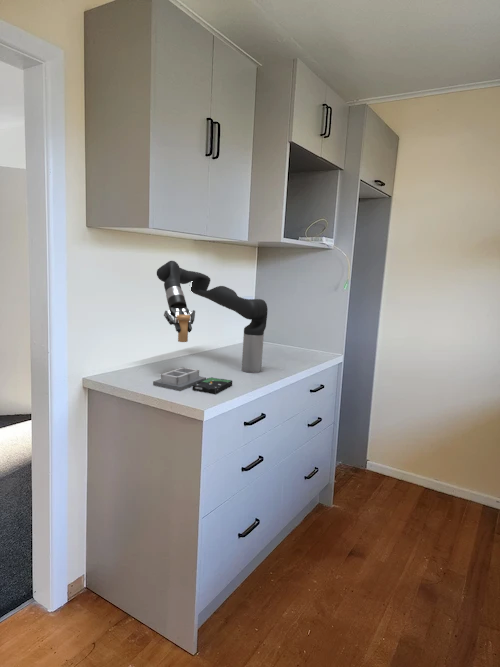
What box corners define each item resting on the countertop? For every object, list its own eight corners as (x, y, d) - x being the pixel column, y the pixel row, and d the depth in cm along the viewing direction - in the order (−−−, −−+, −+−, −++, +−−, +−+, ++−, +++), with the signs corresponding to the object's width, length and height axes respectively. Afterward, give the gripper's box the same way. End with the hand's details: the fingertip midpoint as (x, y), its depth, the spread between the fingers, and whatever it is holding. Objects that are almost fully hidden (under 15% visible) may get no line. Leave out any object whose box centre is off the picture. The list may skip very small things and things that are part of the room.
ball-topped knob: (181, 339, 189) (182, 314, 187) (192, 341, 187) (192, 315, 185) (173, 341, 184) (173, 315, 182) (184, 343, 182) (185, 316, 180)
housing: (179, 376, 189) (180, 365, 188) (205, 381, 183) (206, 370, 183) (153, 385, 173) (153, 373, 172) (180, 391, 167) (181, 379, 167)
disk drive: (216, 396, 166) (232, 386, 179) (216, 389, 165) (232, 379, 179) (191, 391, 170) (209, 382, 183) (192, 384, 169) (210, 376, 183)
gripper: (189, 304, 198) (198, 336, 189) (158, 304, 191) (165, 337, 182) (193, 293, 192) (203, 325, 183) (161, 293, 186) (169, 326, 177)
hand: (184, 331), depth 183 cm, fingers closed on ball-topped knob, 4 cm apart
